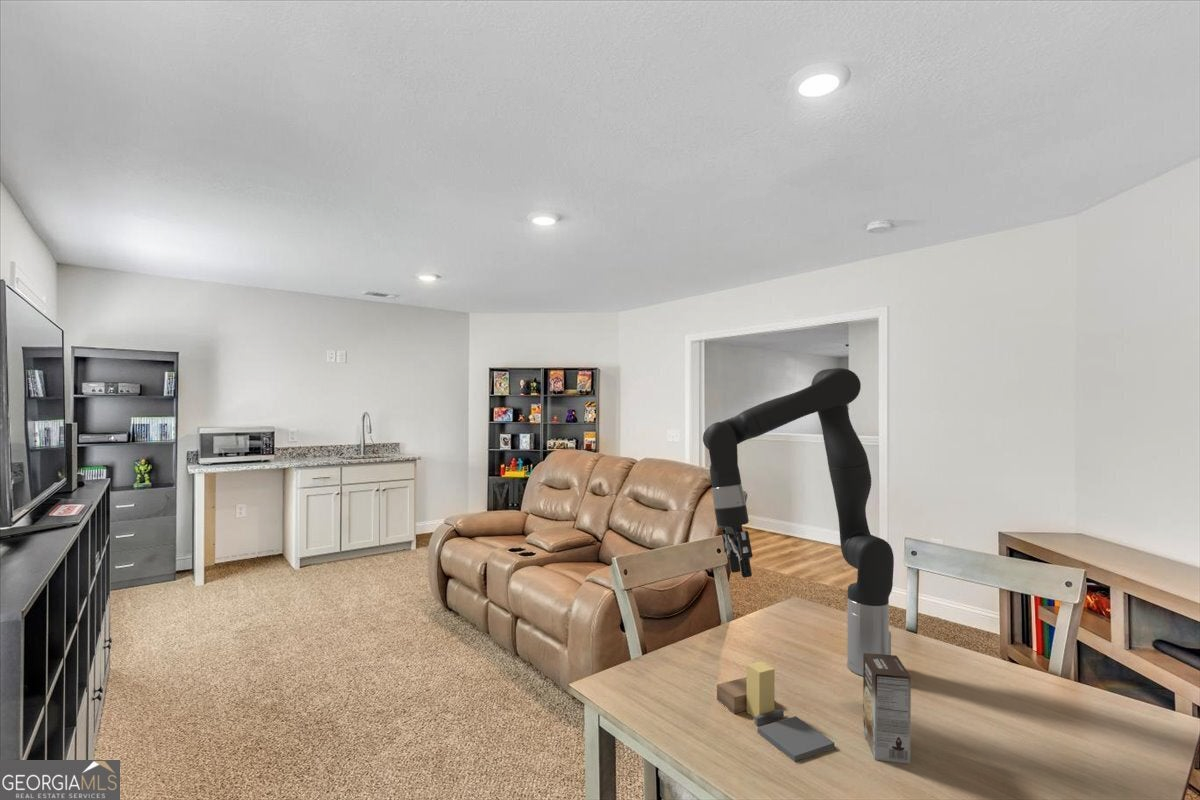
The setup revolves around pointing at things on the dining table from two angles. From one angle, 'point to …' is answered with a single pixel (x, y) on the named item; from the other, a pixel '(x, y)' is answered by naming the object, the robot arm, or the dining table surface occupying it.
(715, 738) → the dining table surface
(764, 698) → the pale yellow rectangular prism
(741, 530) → the robot arm
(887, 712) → the coffee box
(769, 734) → the mat
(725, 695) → the block
